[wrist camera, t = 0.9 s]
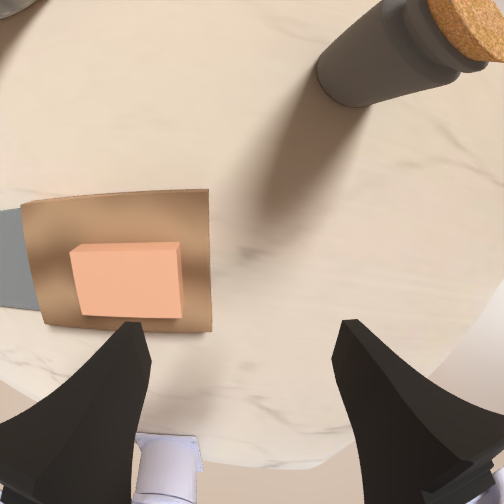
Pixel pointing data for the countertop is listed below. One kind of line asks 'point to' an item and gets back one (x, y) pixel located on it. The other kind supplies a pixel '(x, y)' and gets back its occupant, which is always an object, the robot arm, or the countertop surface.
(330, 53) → the bottle
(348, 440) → the countertop surface
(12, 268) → the mat
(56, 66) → the countertop surface
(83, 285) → the tile
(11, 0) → the supplement tub
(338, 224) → the countertop surface
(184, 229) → the board
